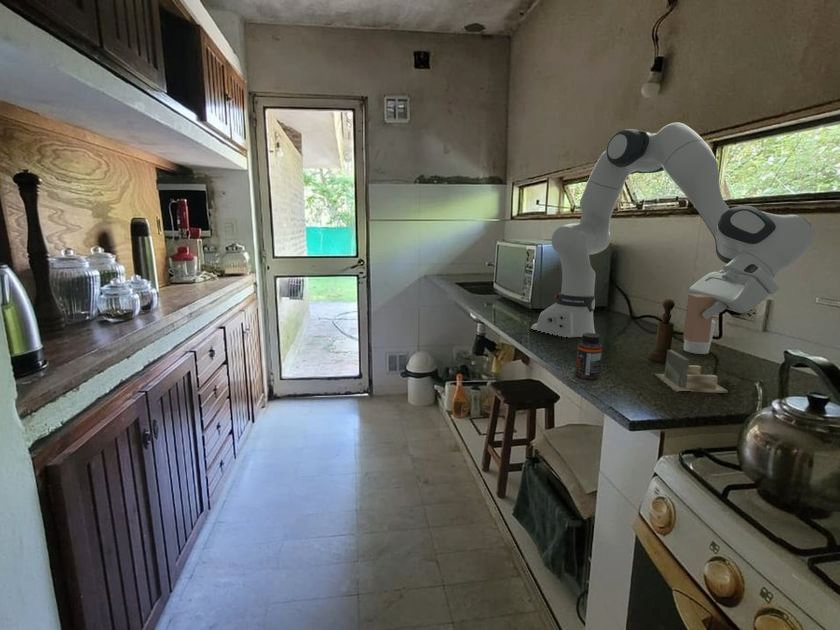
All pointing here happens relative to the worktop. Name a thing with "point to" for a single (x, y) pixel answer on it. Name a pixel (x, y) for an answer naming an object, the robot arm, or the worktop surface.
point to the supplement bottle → (589, 356)
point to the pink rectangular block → (697, 318)
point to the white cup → (699, 344)
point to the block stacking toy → (687, 376)
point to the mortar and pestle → (663, 334)
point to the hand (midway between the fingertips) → (696, 314)
